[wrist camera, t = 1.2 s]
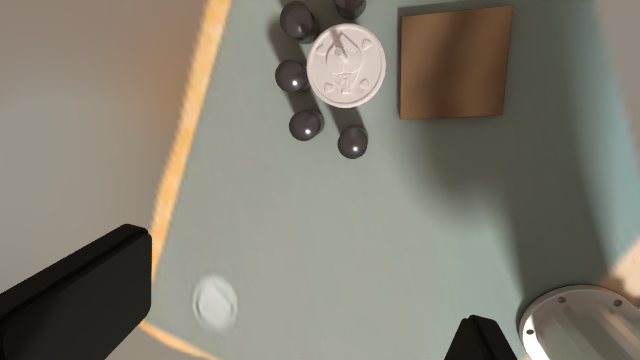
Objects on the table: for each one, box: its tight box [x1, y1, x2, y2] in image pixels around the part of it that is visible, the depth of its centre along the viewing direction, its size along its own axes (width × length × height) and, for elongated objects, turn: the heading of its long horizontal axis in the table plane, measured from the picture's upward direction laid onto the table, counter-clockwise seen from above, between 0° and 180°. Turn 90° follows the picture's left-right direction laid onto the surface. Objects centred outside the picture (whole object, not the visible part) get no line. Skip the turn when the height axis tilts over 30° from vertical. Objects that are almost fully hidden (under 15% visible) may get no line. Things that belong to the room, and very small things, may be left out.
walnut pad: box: [400, 5, 513, 119], centre depth 30 cm, size 10×10×1 cm
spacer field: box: [275, 0, 368, 159], centre depth 31 cm, size 9×17×4 cm, turn 4°
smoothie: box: [307, 23, 386, 108], centre depth 26 cm, size 6×6×14 cm
